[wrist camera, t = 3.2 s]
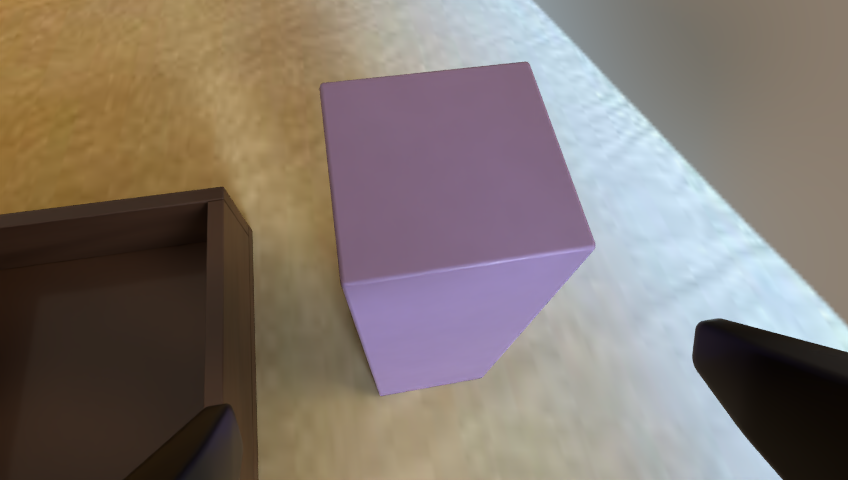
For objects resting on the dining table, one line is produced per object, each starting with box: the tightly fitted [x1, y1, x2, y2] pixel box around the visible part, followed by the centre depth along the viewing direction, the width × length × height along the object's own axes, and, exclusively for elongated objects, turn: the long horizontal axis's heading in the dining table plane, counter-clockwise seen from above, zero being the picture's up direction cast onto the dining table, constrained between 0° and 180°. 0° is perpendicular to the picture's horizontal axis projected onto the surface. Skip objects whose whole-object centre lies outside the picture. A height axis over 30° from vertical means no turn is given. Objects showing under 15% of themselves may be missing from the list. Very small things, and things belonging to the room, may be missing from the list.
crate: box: [0, 187, 258, 480], centre depth 17 cm, size 11×11×4 cm
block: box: [320, 62, 595, 396], centre depth 14 cm, size 4×4×13 cm
